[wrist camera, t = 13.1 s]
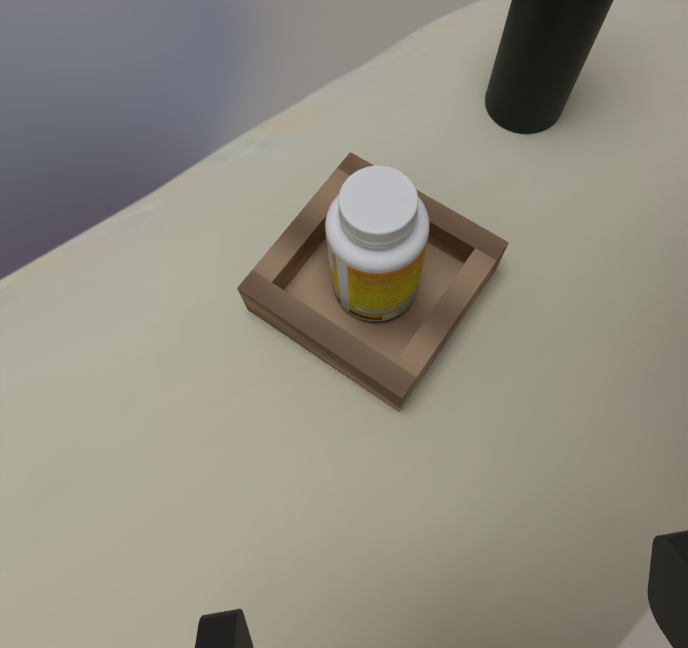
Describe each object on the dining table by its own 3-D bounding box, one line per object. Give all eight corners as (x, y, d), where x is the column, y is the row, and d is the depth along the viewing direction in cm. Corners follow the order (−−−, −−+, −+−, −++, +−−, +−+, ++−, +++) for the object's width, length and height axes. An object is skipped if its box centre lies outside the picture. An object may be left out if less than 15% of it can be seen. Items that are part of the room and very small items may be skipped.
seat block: (351, 182, 42) (350, 152, 39) (496, 267, 40) (508, 242, 36) (247, 309, 39) (237, 288, 36) (398, 411, 36) (402, 398, 33)
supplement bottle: (435, 289, 38) (459, 204, 29) (370, 341, 37) (372, 270, 28) (379, 231, 40) (384, 132, 30) (315, 280, 39) (299, 192, 29)
